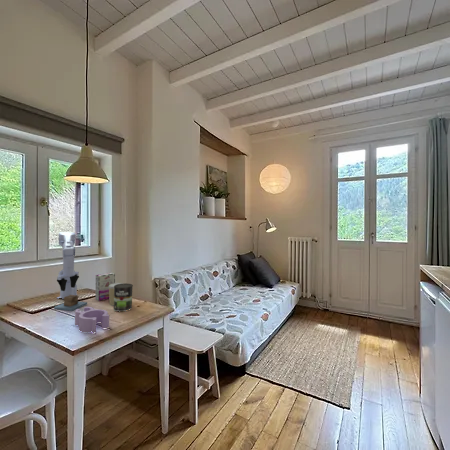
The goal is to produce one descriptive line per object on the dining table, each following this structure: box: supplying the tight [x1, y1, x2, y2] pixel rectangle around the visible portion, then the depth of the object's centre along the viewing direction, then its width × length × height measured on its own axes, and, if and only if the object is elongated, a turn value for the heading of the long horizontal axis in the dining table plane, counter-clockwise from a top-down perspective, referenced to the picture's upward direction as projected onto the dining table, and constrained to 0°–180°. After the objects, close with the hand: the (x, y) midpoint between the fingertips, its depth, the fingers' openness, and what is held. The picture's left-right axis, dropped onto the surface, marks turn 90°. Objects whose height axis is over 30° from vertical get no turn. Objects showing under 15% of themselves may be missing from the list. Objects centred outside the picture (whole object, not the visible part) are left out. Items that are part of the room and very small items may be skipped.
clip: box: [74, 306, 110, 333], centre depth 127 cm, size 20×12×7 cm, turn 55°
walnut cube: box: [63, 294, 79, 306], centre depth 152 cm, size 5×5×5 cm
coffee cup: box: [108, 282, 124, 307], centre depth 160 cm, size 9×9×12 cm
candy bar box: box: [95, 272, 116, 302], centre depth 169 cm, size 11×5×16 cm, turn 143°
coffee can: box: [113, 282, 134, 313], centre depth 151 cm, size 10×10×14 cm
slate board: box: [53, 301, 88, 312], centre depth 152 cm, size 12×12×1 cm
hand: (68, 289), depth 156 cm, fingers open, 7 cm apart
